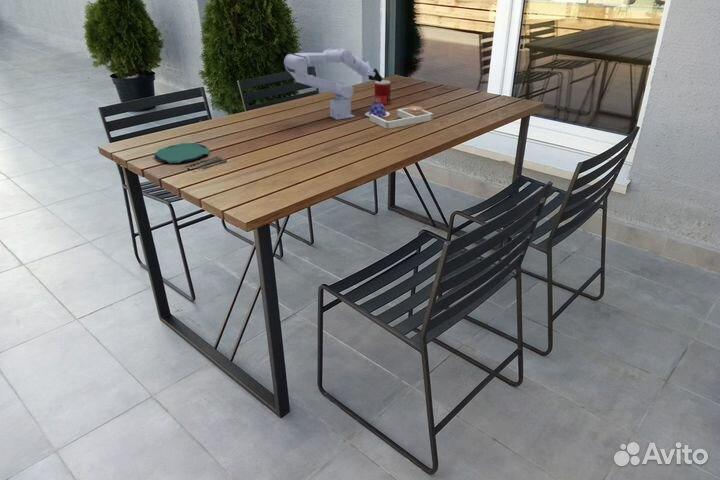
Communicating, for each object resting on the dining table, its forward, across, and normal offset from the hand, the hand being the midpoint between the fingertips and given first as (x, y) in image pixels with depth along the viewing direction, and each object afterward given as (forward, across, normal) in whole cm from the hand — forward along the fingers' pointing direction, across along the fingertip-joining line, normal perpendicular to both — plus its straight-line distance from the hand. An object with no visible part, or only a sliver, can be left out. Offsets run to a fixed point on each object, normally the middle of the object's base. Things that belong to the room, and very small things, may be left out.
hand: (376, 77), depth 263 cm
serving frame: (+6, -24, +12) cm, 27 cm away
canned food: (+16, +6, +9) cm, 19 cm away
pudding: (+4, -10, +15) cm, 19 cm away
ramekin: (+12, -24, +8) cm, 28 cm away
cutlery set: (-75, -18, +66) cm, 102 cm away
